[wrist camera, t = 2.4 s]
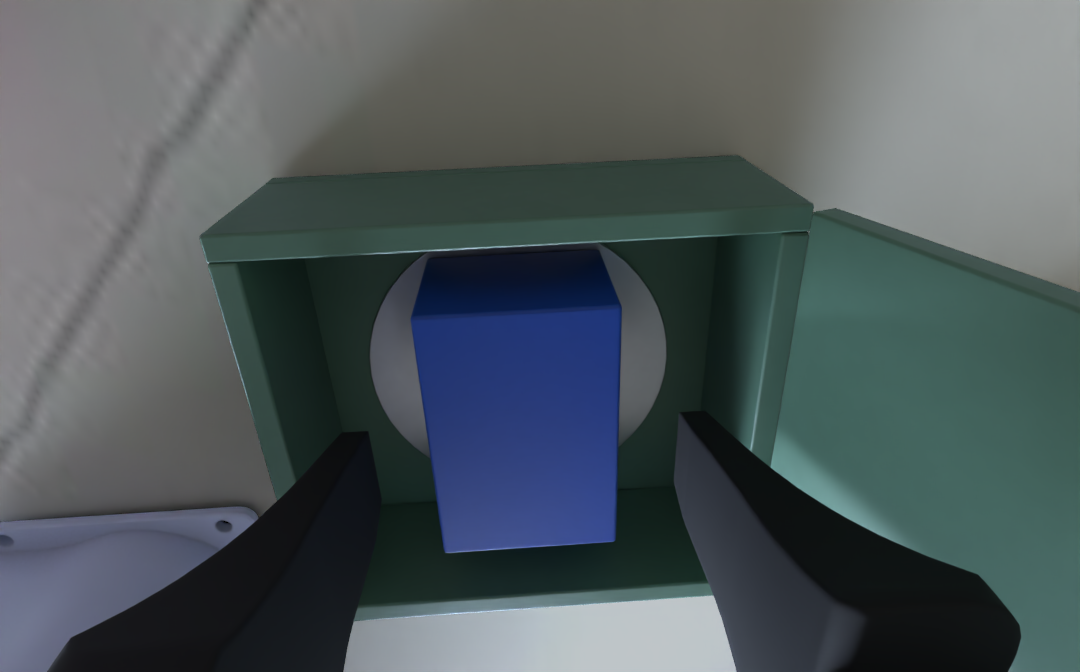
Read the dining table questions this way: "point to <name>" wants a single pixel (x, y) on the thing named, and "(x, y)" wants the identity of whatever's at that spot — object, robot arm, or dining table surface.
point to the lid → (943, 415)
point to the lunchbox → (496, 222)
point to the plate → (392, 323)
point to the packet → (521, 397)
